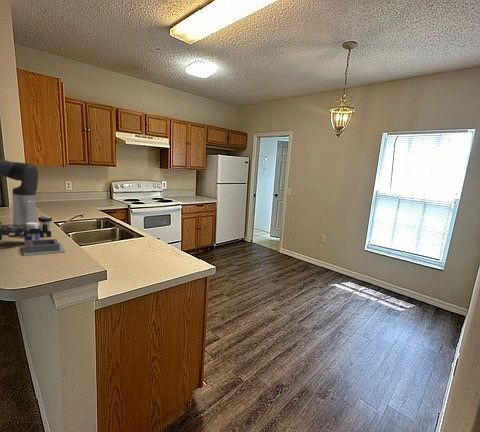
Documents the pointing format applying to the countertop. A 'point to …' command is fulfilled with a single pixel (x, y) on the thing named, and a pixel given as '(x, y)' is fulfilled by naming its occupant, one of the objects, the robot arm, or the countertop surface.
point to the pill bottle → (31, 236)
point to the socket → (42, 247)
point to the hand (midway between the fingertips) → (39, 229)
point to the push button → (45, 225)
